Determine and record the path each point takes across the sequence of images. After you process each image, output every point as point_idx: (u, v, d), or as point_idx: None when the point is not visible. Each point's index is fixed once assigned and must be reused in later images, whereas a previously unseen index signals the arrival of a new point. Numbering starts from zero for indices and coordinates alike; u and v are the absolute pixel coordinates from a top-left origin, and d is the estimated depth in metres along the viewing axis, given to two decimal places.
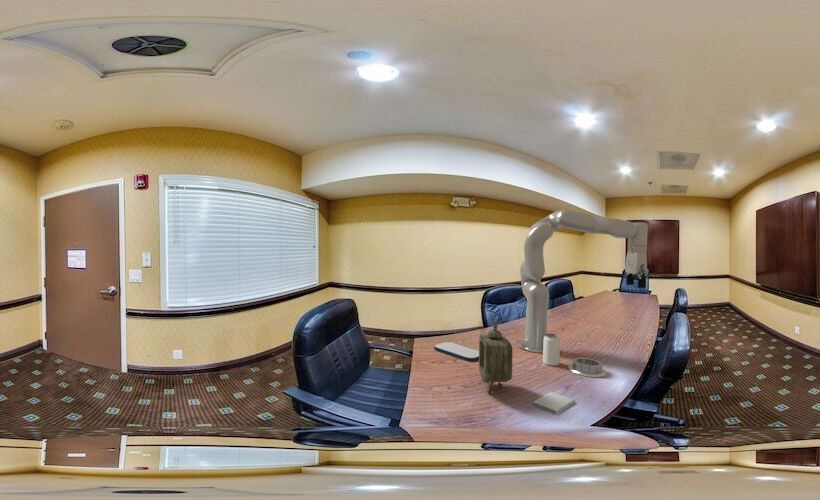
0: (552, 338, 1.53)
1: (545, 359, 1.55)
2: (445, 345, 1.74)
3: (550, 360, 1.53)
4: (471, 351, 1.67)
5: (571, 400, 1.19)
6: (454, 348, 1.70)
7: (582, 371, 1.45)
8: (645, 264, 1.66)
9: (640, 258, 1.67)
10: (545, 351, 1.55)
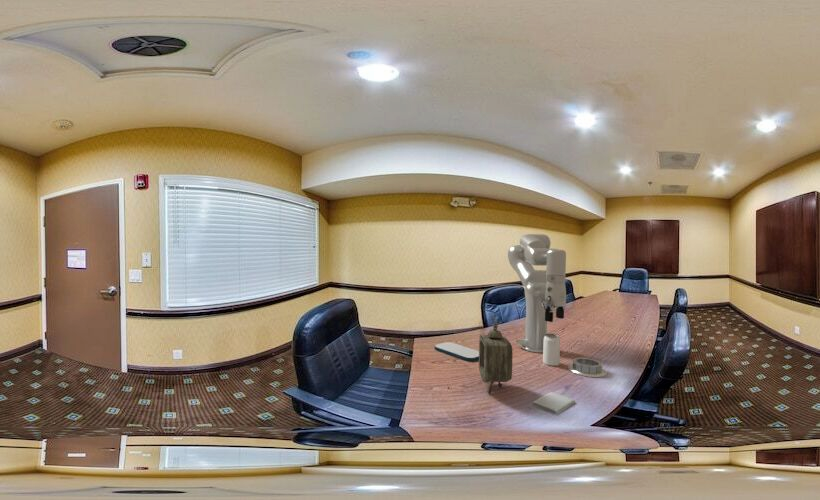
0: (552, 338, 1.53)
1: (545, 359, 1.55)
2: (446, 345, 1.74)
3: (550, 360, 1.53)
4: (471, 351, 1.66)
5: (571, 400, 1.19)
6: (454, 348, 1.70)
7: (582, 371, 1.45)
8: None
9: None
10: (545, 351, 1.55)
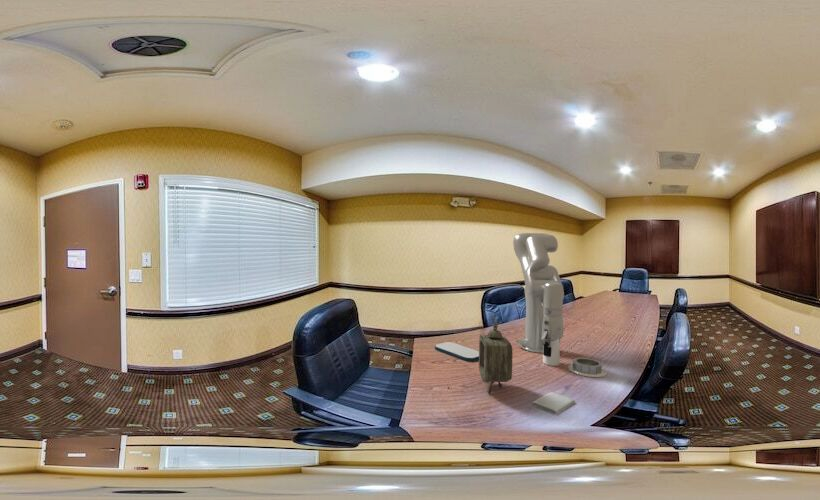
0: None
1: (545, 359, 1.55)
2: (446, 345, 1.75)
3: (550, 360, 1.53)
4: (471, 351, 1.66)
5: (571, 400, 1.19)
6: (454, 348, 1.70)
7: (582, 371, 1.45)
8: None
9: None
10: None
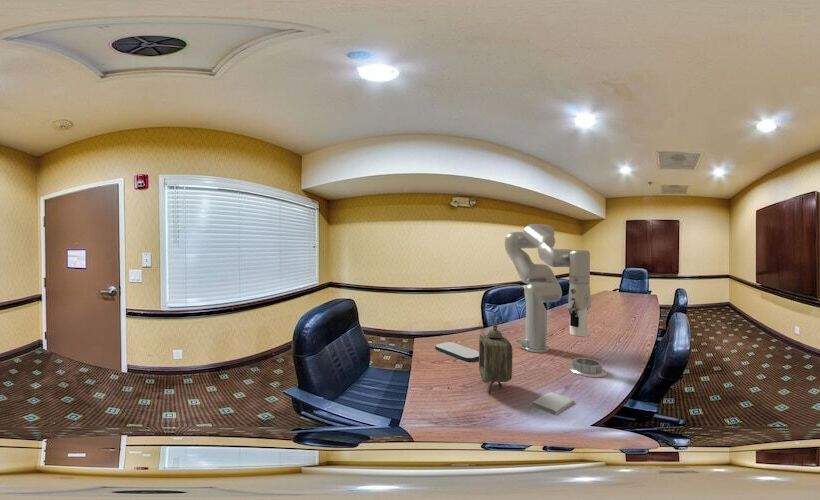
0: None
1: (572, 330, 1.48)
2: (446, 345, 1.75)
3: (577, 330, 1.46)
4: (471, 351, 1.66)
5: (570, 400, 1.19)
6: (454, 348, 1.70)
7: (582, 371, 1.45)
8: None
9: None
10: None
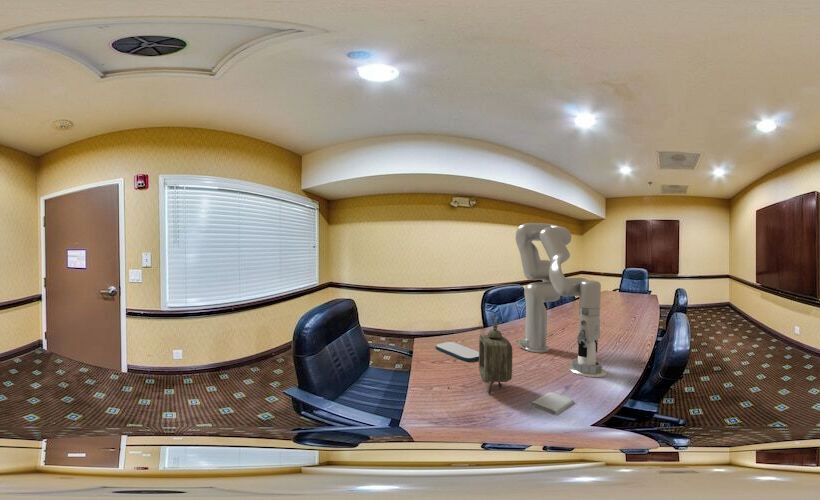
0: (588, 342, 1.46)
1: None
2: (447, 345, 1.75)
3: None
4: (470, 351, 1.66)
5: (570, 400, 1.19)
6: (454, 348, 1.70)
7: (582, 371, 1.45)
8: None
9: None
10: None
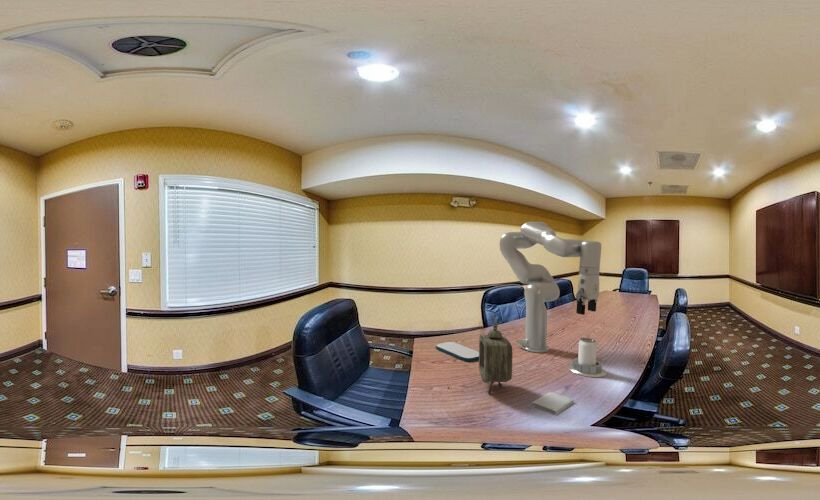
0: (589, 343, 1.45)
1: None
2: (447, 345, 1.75)
3: None
4: (470, 351, 1.66)
5: (570, 400, 1.19)
6: (454, 348, 1.70)
7: (582, 371, 1.45)
8: None
9: None
10: (581, 356, 1.47)
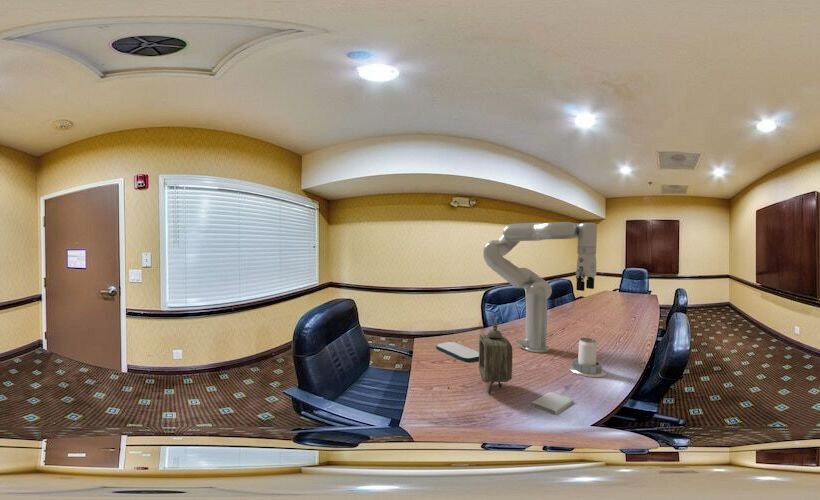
0: (589, 343, 1.45)
1: None
2: (448, 344, 1.75)
3: None
4: (470, 351, 1.66)
5: (570, 400, 1.19)
6: (454, 348, 1.70)
7: (582, 371, 1.45)
8: None
9: None
10: (581, 356, 1.47)
